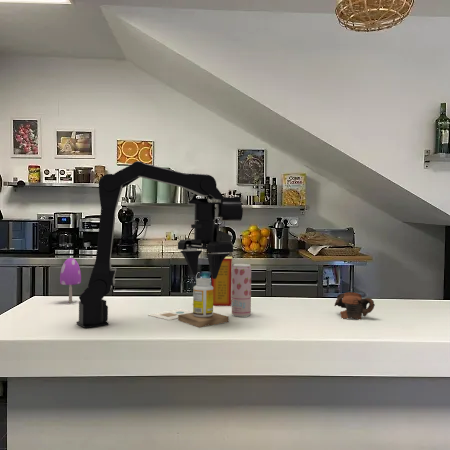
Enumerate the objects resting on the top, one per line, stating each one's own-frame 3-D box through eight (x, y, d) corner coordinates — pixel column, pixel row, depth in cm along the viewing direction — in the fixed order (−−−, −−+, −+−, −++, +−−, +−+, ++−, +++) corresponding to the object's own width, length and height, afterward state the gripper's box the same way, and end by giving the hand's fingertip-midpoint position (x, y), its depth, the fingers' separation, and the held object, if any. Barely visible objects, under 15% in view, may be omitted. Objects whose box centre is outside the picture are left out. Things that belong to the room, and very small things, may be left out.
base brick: (199, 327, 111) (199, 321, 111) (178, 320, 119) (178, 314, 119) (228, 322, 118) (228, 316, 118) (206, 315, 125) (207, 310, 125)
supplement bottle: (212, 313, 121) (212, 277, 121) (213, 317, 116) (214, 280, 116) (192, 313, 121) (193, 277, 121) (193, 318, 115) (193, 280, 115)
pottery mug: (330, 319, 125) (329, 293, 129) (343, 328, 131) (341, 303, 135) (371, 314, 118) (368, 286, 122) (382, 324, 125) (379, 297, 129)
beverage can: (229, 315, 125) (229, 265, 125) (235, 312, 131) (235, 263, 131) (247, 317, 123) (248, 265, 123) (253, 313, 129) (253, 264, 129)
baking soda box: (213, 300, 150) (213, 255, 150) (231, 300, 150) (232, 255, 150) (211, 305, 141) (211, 257, 141) (230, 306, 141) (231, 257, 141)
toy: (76, 304, 140) (77, 258, 140) (56, 304, 140) (56, 258, 140) (83, 301, 146) (84, 257, 146) (64, 300, 146) (64, 257, 146)
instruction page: (168, 320, 119) (168, 319, 119) (148, 315, 125) (148, 314, 125) (198, 313, 128) (198, 312, 128) (178, 309, 134) (178, 308, 134)
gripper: (248, 221, 116) (248, 278, 116) (207, 221, 131) (207, 272, 131) (216, 220, 109) (216, 281, 109) (176, 220, 124) (176, 274, 124)
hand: (204, 277), depth 118 cm, fingers open, 9 cm apart
